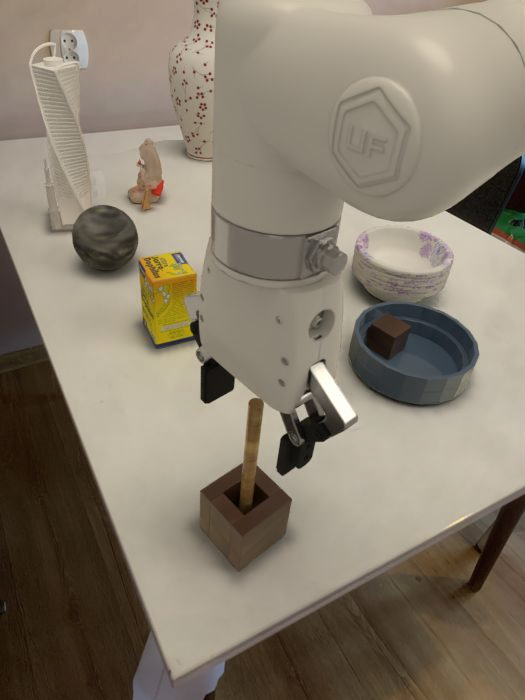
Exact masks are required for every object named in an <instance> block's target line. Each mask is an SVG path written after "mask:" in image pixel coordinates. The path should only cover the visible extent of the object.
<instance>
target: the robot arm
mask: <svg viewBox="0 0 525 700" xmlns="http://www.w3.org/2000/svg"><path fill="white" fill-rule="evenodd" d="M524 155H525V0H484V1H480V2H471V3H466V4H460V5H455V6H449V7H442V8H435V9H431V10H428V11H427V10H425V11H419V12H418V11H417V12H411V13H404V14H373V12H372V9H371V7H370V6H369V5H368V3H367V2H366V0H220V3H219V8H218V12H217V16H216V29H215V60H214V112H213V152H212V160H211V202H210V236H209V237H208V242H207V245H206V249H205V255H204V260H203V265H202V271H201V278H200V279H201V281H200V288H199V290H197V292H194V293H192V294H189V295H187V296H185V297H184V303H185V306H186V309H187V312H188V315H189V318H190V320H192V322H191V323H190V331H191V333H192V334H193V336H194V338H195V339H194V340H195V342H196V344H197V346H198V348H197V349H196V350H195V357H196V358H197V361H198V362H199V363H201V364H202V365H200V386H199V387H200V393H199V394H200V397H199V398H200V401H202V403H203V404H205V405H206V404H207V405H209V404H211V403H213V402H215V401H216V400H219V399H220V398H222V397H224V396H226V395H227V394H229V393H231V392H233V391H234V389H235V383H236V380H237V381H238V382H240V383H241V384H242V385H243V386H244V387H246V389H248V390H249V391H250V392H251V393H253V394H254V395H255V396H256V398H259V399H261V400H262V401H263V402H264V404H266V405H267V406H268V407H270V408H271V409H273V410H275V411H277V412H279V414H280V418H281V420H282V423H283V426H284V428H285V431H286V433H284V434H283V435H282V436H281V437H280V440H279V444H278V446H279V447H278V451H277V459H276V465H275V469H276V472H277V473H278V475H280V476H281V477H284V476H285V475H287V474H289V473H290V472H292V471H293V470H294V469H297V470H300V469H302V468H304V467H306V466H307V465H308V464H309V463H310V461H311V460H312V458H313V456H314V451H315V447H316V443H323V442H326V441H327V440H328V439H330V438H333V437H335V436H338V435H339V434H342V433H343V432H345V431H347V430H348V429H349V428H351V427H353V425H355V424H356V423H357V422H358V421H359V416H358V414H357V413H358V412H356V411H355V409H354V407H353V406H352V404H351V402H350V401H349V400H348V398H347V396H346V395H345V393H344V392H343V390H342V389H341V387H340V386H339V384H338V382H337V381H336V380H335V378H336V375H337V369H338V364H339V358H340V350H341V344H342V337H343V336H342V335H343V323H344V305H345V304H344V303H345V302H344V280H343V271H344V269H345V268H346V266H347V264H348V260H349V259H348V258H349V257H348V254H347V253H345V252H344V251H342V250H340V248H339V246H338V245H337V243H338V237H339V233H340V226H341V222H342V215H343V210H344V207H345V206H344V205H345V204H347V205H349V206H350V207H352V208H354V209H356V210H357V211H360V212H361V213H364V214H366V215H369V216H371V217H373V218H376V219H381V220H385V221H389V222H393V223H402V222H405V223H406V222H407V223H408V222H417V221H422V220H426V219H429V218H432V217H434V216H437V215H440V214H442V213H443V212H445V211H447V210H448V209H450V208H452V207H454V206H455V205H457V204H458V203H459V202H461V201H462V200H465V198H467V197H468V196H469V195H471V193H473V192H474V191H475V190H477V189H479V187H481V186H483V184H485V183H486V182H488V180H490V179H492V178H493V177H494V176H495V175H496V174H497V173H499V172H500V171H501V170H503V169H504V168H506V167H507V166H509V165H510V164H511V163H513V162H514V161H515V160H517V159H518V158H520V157H521V156H524ZM303 405H304V408H305V411H306V414H307V416H306V417H304V418H303V419H302V420H300V418H299V415H298V412H297V409H298V408H300V407H301V406H303Z"/></svg>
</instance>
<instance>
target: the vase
mask: <svg viewBox="0 0 525 700" xmlns="http://www.w3.org/2000/svg"><path fill="white" fill-rule="evenodd" d="M220 3H221V0H193V17H192V21H191V26H190V29H189V31H188V33H187V35H185V37H183V38H182V39H181V40H179V41H178V42H177V43H176V44H174V45H172V48H171V49H170V51H169V54H168V65H167V66H168V67H167V71H168V72H167V73H168V81H169V89H170V99H171V103H172V106H173V109H174V112H175V116H176V118H177V122H178V126H179V129H180V131H181V136H182V138H183V142H184V145H185V148H186V155H187V157H189V158H191V159H194V160H197V161H202V162H203V161H204V162H206V161H207V162H208V161H209V162H212V152H213V112H214V60H215V29H216V16H217V12H218V8H219V5H220Z"/></svg>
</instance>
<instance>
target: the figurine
mask: <svg viewBox="0 0 525 700" xmlns="http://www.w3.org/2000/svg"><path fill="white" fill-rule="evenodd" d="M154 143H155V142H154V140H153V139H152V138H145V140H144V141H143V143H141V144H140V145H139V147H138V151H139V157H140V158H139V160H138V161H137V163H135V165H136V167H138V168H139V172H138V174H137V179H136V185H135V186H132V187H130V188H129V189H128V190H127V194H126V195H127V197H128V198H129V199H130V201H131V202H132V203H133V204H141V210H142V211H145V210H151V209H152V207H151V204H153V203H156V202H157V201H159V200H160V198H161V196H162V193H163V189H164V184H165V180H164V179H163V176H162V175H163V171H162V169H163V168H162V164H161V160H160V157H159V153H158V151H157V149H156V147H155V145H154ZM141 160H142V161H143V162H144V164H143V163H142V161H141Z"/></svg>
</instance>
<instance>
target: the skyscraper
mask: <svg viewBox="0 0 525 700" xmlns="http://www.w3.org/2000/svg"><path fill="white" fill-rule="evenodd" d="M50 46H51V47H53V49H52V50H53V52H52V56H46V57H43V58H42V60H43V61H40V62H36V63H33V60H34V57H35V55H36V53H38V51H40V50H41V49H43V48H47V47H50ZM56 55H57V43H56V42H54V41H48V42H45V43H41V44H39V45H38V46H36V47H35V48H34V50H33V51H32V53H31V55H30V57H29V61H28V67H29V68H28V69H29V71H30V76H31V79H32V83H33V87H34V91H35V96H36V99H37V104H38V106H39V110H40V113H41V116H42V119H43V122H44V126H45V129H46V144H47V145H46V146H47V152H48V161H49V167H48V164H47V158H46V157H43V164H44V168H43V171H44V175H45V183H44V187H45V193H46V199H47V204H48V212H49V218H50V225H51V233H61V232H63V233H64V232H65V233H66V232H72V229H73V226H74V223H75V221H76V220H77V218H78V217H79V215H80V214H81V213H82V212H84V211H85V210H87V209H88V208H91V207H93V196H92V195H93V194H92V179H91V178H92V177H91V169H90V168H91V167H90V162H89V155H88V150H87V146H86V142H85V138H84V135H83V131H82V127H81V125H80V117H81V116H80V115H81V114H80V113H81V64H80V62H79V61H78V60H71V61H70V60H69V61H67V62H65V61H64V58H62V57H59V56H56ZM51 178H52V179H51Z"/></svg>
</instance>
